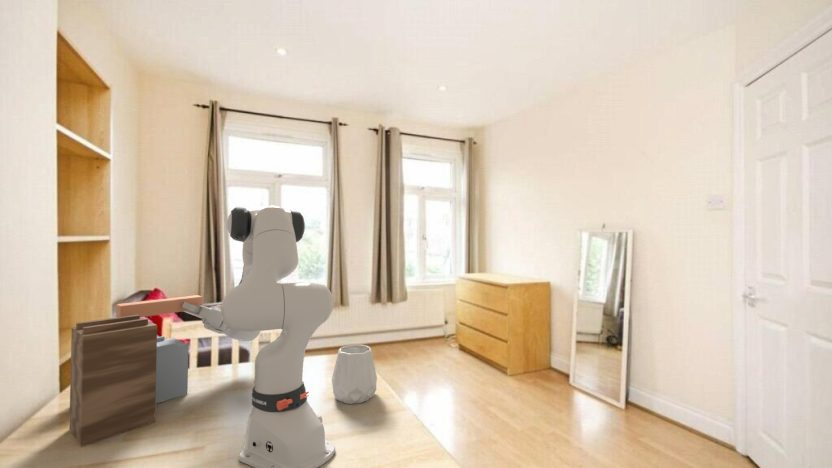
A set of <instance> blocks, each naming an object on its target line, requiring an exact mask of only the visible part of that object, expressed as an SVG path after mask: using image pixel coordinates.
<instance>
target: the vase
mask: <svg viewBox="0 0 832 468" xmlns="http://www.w3.org/2000/svg"><path fill="white" fill-rule="evenodd" d="M374 360H375V359H374V356H373V350H372V348H371V347H370V346H369V345H365V344H359V343H358V344H356V343H354V344H348V345H344V346H341V347H340V348H338V350H337V356H336V360H335V364H334V369H333V373H332V378H331V384H332V391H333V392H332V393H333V395H334V397H335V399H336V400H337V401H338V402H342V403H344V404H347V405H353V404H352V403H356V404H362V402H363V403H364V401H365V402H367V401H368V400H370V399H371V398H373V397H374V395H375V393H376V392H377V380H378V379H377V378H378V377H377V370H376V364H375V361H374ZM369 398H370V399H369Z"/></svg>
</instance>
